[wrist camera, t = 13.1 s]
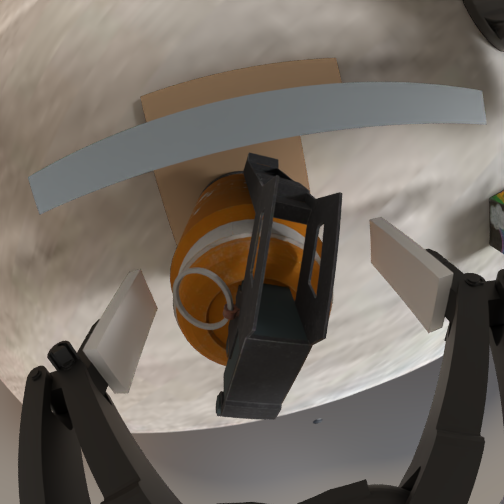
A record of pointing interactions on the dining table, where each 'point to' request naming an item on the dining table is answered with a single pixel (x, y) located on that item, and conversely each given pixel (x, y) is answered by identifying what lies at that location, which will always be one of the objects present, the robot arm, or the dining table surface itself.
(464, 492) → the robot arm
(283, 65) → the wooden stand with panel
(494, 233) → the chalk box
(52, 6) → the dining table surface
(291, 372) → the canister
